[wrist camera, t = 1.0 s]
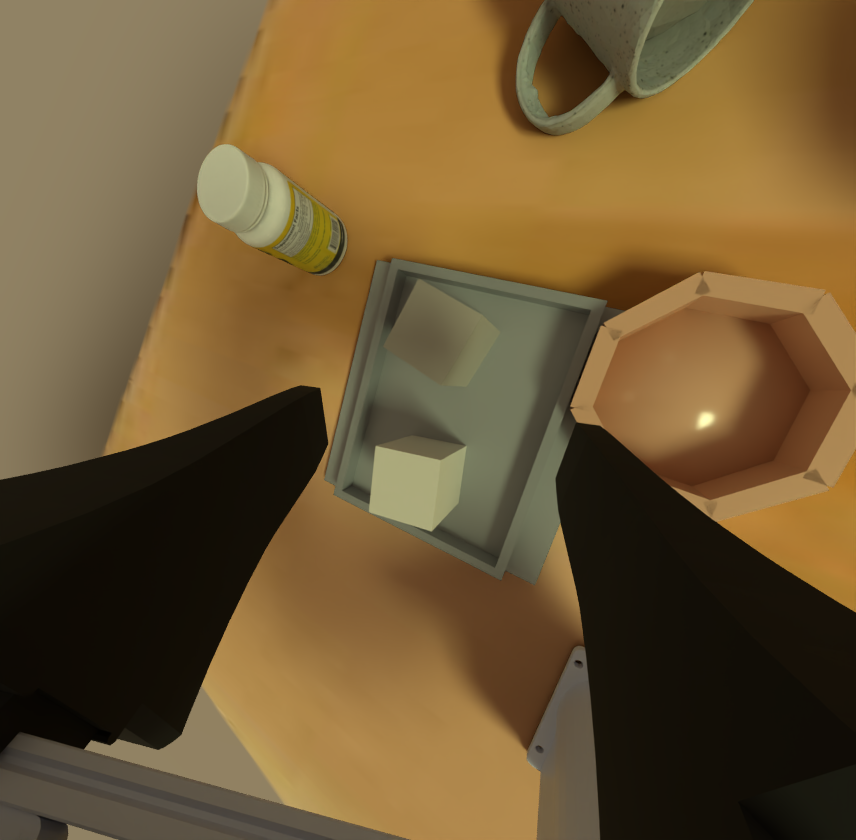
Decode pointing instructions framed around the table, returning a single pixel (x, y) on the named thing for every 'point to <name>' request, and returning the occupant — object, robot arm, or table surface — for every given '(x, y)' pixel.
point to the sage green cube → (416, 480)
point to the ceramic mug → (625, 48)
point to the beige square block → (441, 336)
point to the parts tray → (474, 412)
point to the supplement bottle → (270, 211)
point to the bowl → (728, 390)
